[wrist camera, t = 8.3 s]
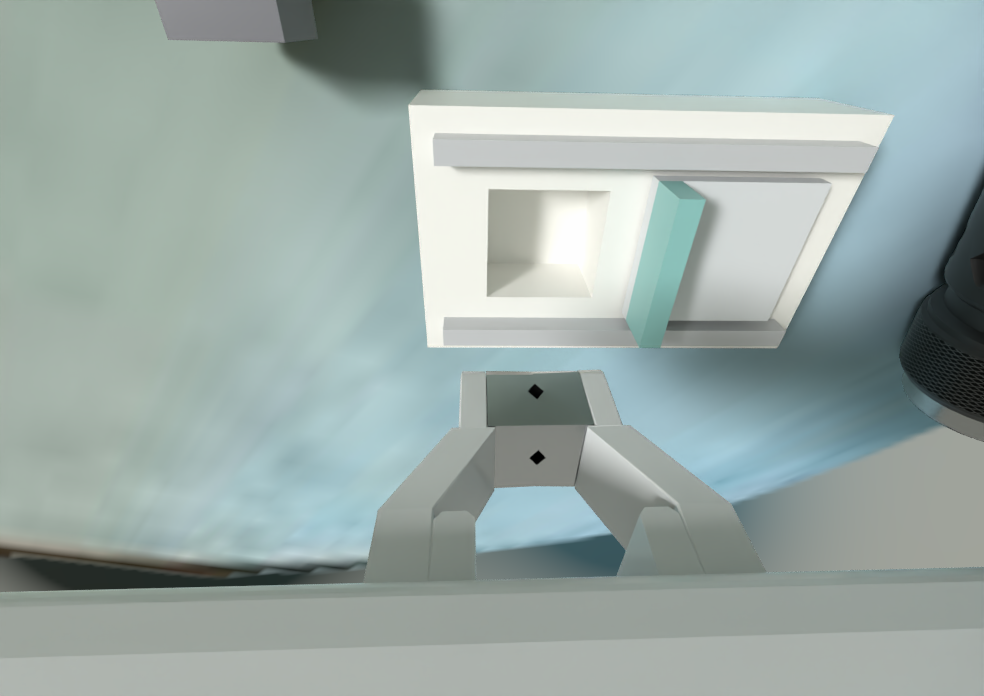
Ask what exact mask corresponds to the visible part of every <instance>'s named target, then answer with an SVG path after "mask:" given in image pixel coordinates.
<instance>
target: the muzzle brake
mask: <svg viewBox="0 0 984 696" xmlns="http://www.w3.org/2000/svg"><path fill="white" fill-rule="evenodd" d="M944 273H945V280H946V282H947V284H944V285H942V286H941V287H939V288H938V289H936V290H935V291H934V292H933V293H932V294H930V295H929V296H927V297H926V298H925V300H924V301H923V303H922V304H921V305H920V307H919V309H918V312H917V314H916V316H915V318H914V320H913V322H912V324H911V326H910V328H909V330H908V333H907V335H906V337H905V339H904V341H903V343H902V345H901V347H900V354H899V358H900V361H901V365H902V367H903V370H904V373H903V375H902V385H903V389H904V392H905V393H906V395H907V396H908V398H909V400H910V401H911V402H912V403H913V404H914V405H915V406H916V407H917V408H918V409H919V410H921V411H922V412H923V413H925V414H926V415H927V416H929V417H930V418H932V419H933V420H935V421H937V422H938V423H940V424H942V425H943V426H945V427H948V428H950V429H952V430H954V431H956V432H958V433H960V434H963V435H966V436H968V437H971V438H974V439H977V440H980V441H983V442H984V189H983V191H982V193H981V195H980V197H979V199H978V202H977V204H976V206H975V208H974V210H973V212H972V214H971V216H970V218H969V220H968V224H967V226H966V228H965V230H964V232H963V234H962V237H961V239H960V241H959V243H958V245H957V246H956V248H955V250H954V252H953V254H952V255H951V257H950V259H949V261H948V263H947V265H946V267H945V271H944Z"/></svg>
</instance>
